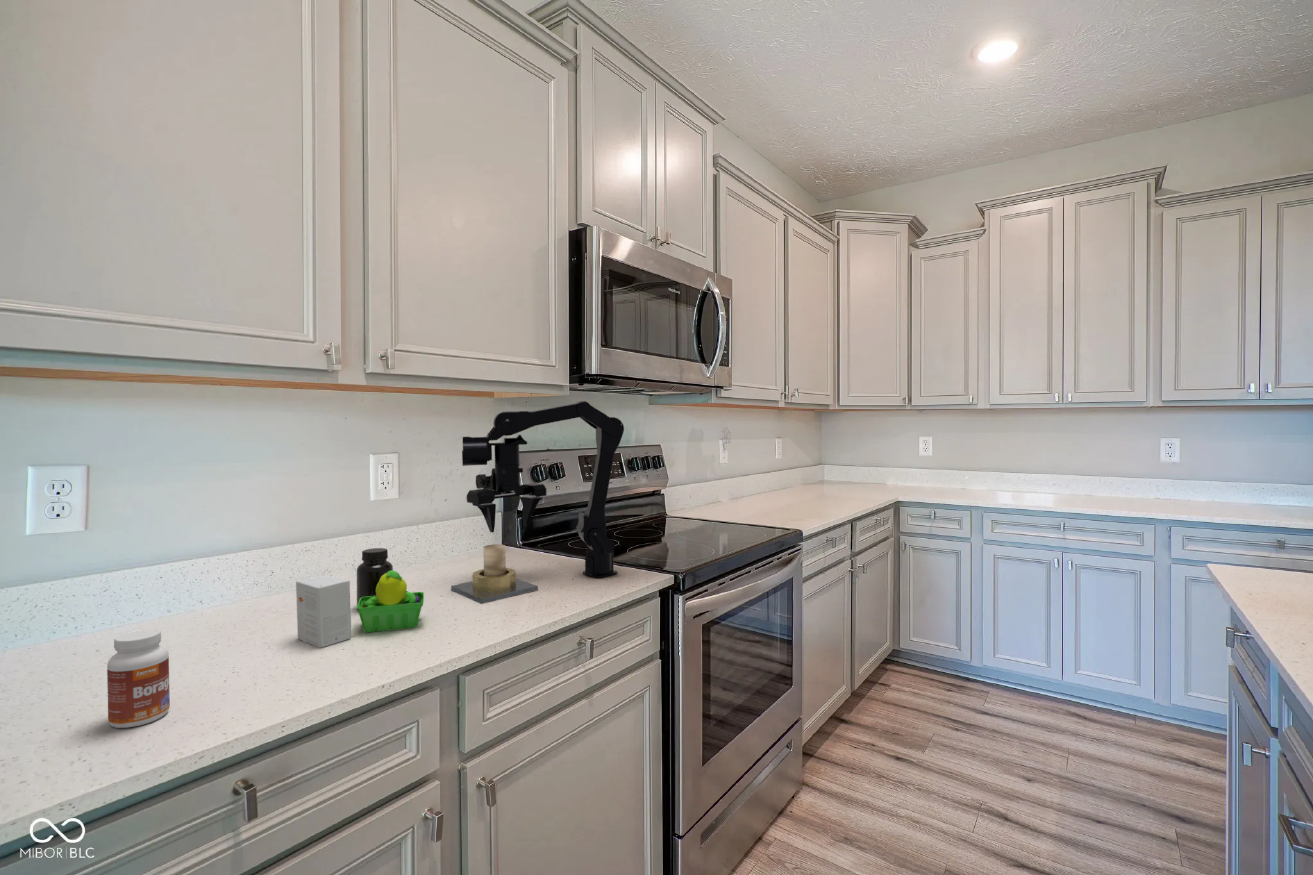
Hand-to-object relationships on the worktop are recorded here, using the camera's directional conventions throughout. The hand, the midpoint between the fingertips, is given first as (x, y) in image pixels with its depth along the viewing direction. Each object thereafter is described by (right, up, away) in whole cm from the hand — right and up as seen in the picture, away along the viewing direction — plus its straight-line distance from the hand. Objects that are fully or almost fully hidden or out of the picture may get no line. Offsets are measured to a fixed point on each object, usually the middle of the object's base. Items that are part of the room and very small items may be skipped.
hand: (508, 529), depth 145 cm
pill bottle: (-33, -15, -65) cm, 74 cm away
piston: (-2, -12, -7) cm, 14 cm away
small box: (-24, -14, -37) cm, 46 cm away
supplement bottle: (-23, -14, -19) cm, 33 cm away
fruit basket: (-15, -14, -31) cm, 37 cm away
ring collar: (-2, -13, -7) cm, 15 cm away
